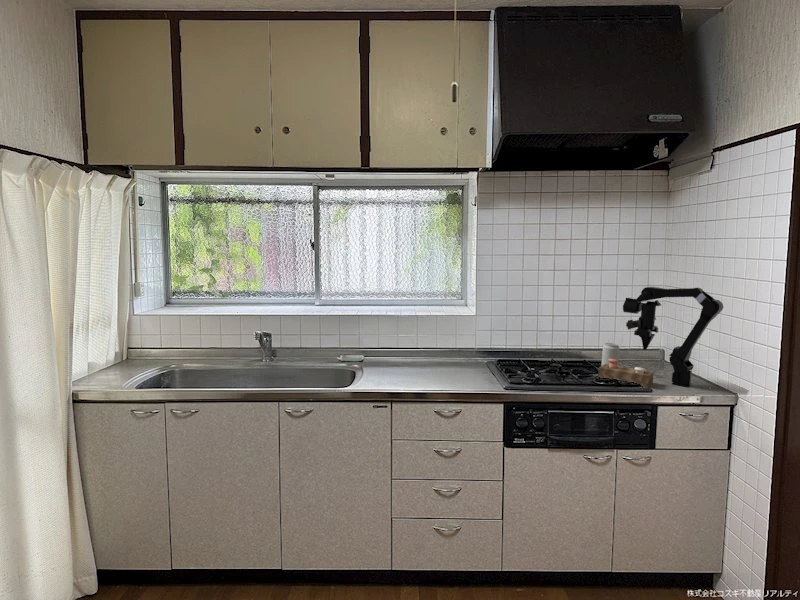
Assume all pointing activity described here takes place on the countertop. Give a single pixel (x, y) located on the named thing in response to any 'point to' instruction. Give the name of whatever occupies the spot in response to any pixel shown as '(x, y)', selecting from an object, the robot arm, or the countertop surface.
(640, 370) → the cream plug
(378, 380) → the countertop surface
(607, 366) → the socket board
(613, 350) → the can
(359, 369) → the countertop surface
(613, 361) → the brick plug
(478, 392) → the countertop surface
